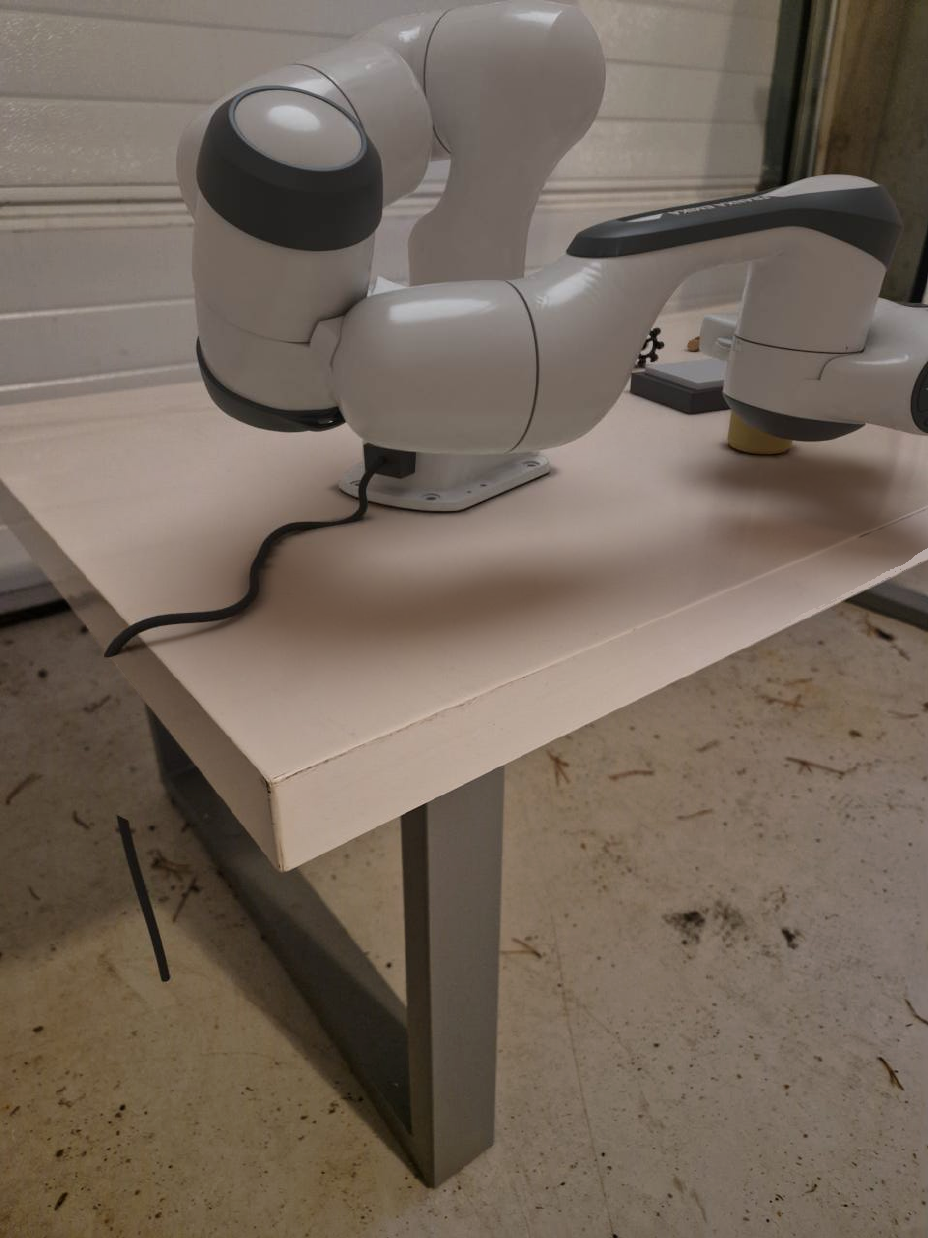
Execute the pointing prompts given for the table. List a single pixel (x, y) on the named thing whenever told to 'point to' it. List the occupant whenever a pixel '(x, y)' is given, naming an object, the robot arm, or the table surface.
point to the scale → (683, 385)
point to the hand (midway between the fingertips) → (775, 321)
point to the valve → (656, 345)
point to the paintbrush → (694, 344)
